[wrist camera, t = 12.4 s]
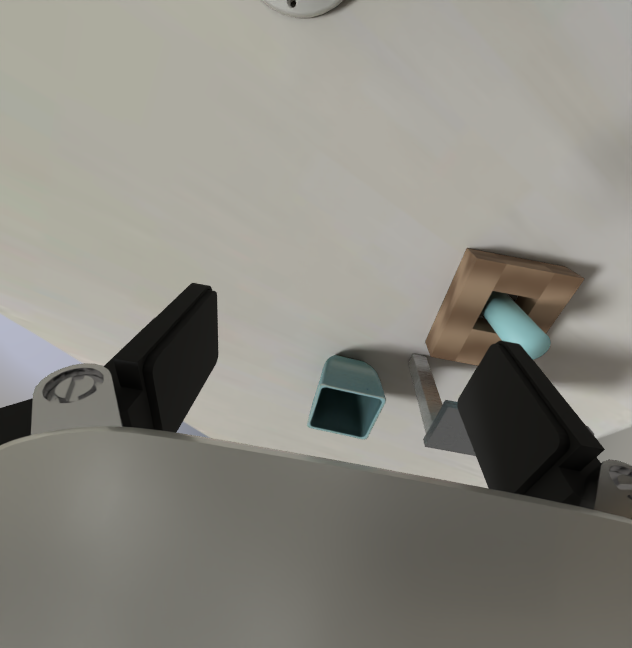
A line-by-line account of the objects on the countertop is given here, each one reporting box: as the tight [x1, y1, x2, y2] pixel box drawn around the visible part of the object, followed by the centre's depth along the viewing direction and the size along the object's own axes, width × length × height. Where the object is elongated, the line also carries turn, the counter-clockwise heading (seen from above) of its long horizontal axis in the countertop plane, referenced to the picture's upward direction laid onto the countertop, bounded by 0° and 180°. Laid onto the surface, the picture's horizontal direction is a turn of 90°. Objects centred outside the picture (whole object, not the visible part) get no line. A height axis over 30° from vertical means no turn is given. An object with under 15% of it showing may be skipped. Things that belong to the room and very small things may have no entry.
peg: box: [481, 291, 551, 360], centre depth 35 cm, size 4×4×10 cm
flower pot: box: [307, 355, 386, 439], centre depth 44 cm, size 9×9×9 cm
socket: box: [425, 248, 584, 365], centre depth 38 cm, size 14×12×4 cm
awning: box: [409, 354, 594, 456], centre depth 38 cm, size 6×15×14 cm, turn 80°
